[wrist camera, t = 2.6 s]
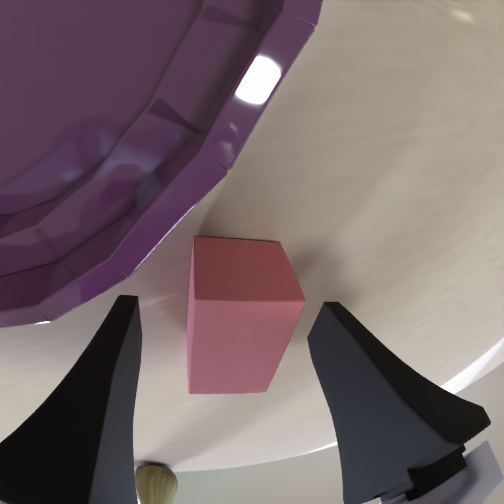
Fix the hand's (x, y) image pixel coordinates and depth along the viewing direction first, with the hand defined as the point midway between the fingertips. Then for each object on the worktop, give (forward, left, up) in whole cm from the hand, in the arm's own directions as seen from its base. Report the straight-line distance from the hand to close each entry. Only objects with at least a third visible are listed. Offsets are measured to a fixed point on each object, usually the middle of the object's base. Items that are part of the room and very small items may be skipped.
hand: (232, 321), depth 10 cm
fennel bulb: (-28, +5, -2) cm, 28 cm away
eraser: (0, 0, -1) cm, 1 cm away
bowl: (+10, +9, -1) cm, 14 cm away
